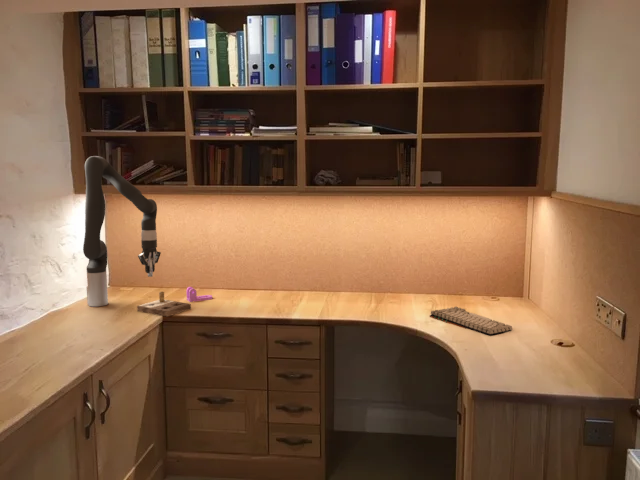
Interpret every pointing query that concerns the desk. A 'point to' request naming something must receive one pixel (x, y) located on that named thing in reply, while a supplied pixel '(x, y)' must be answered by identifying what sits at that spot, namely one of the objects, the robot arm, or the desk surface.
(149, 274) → the grey metal pin
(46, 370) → the desk surface
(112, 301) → the desk surface
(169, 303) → the pin board
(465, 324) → the mechanical keyboard
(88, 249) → the robot arm
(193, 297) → the bracket
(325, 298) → the desk surface
